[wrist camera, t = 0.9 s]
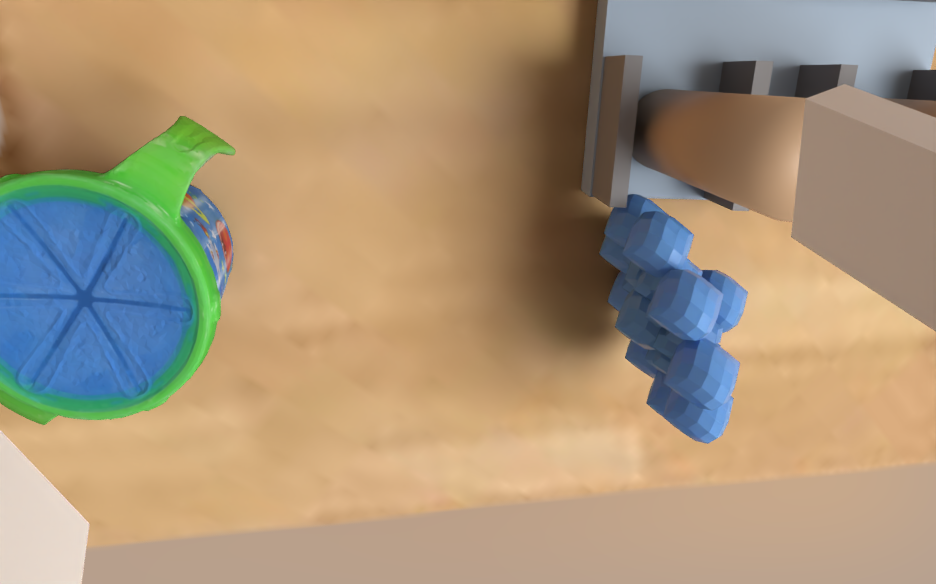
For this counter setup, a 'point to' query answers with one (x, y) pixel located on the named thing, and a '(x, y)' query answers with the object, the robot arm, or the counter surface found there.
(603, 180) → the stool
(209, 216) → the snack cup
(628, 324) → the grapes
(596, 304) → the counter surface
